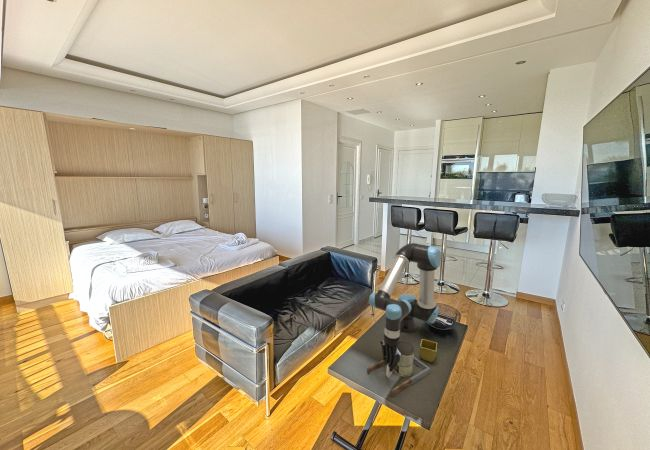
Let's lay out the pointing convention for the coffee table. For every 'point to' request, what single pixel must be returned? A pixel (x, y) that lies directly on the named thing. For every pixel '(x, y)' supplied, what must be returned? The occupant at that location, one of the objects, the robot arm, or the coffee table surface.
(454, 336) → the coffee table surface
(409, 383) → the slot rails
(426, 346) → the flower pot
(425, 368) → the grey piece
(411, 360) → the coffee can
